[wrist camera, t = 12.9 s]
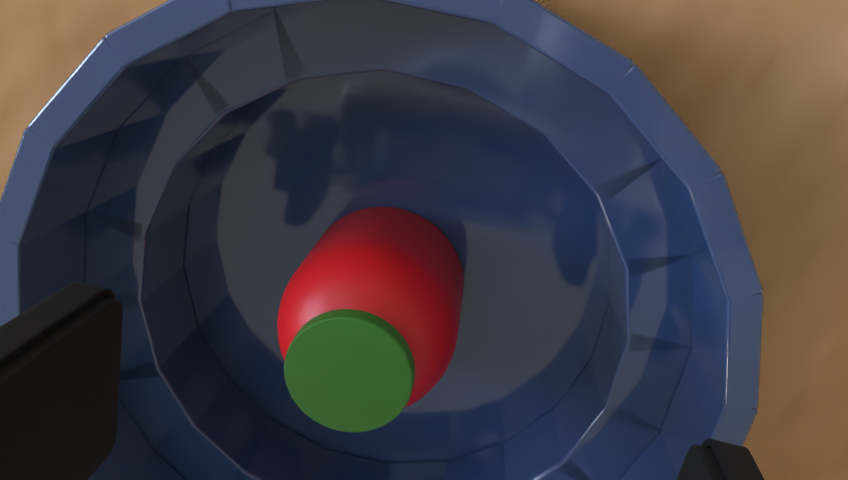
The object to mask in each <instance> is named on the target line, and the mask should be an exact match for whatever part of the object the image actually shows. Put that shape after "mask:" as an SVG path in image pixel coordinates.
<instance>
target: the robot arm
mask: <svg viewBox="0 0 848 480" xmlns="http://www.w3.org/2000/svg"><path fill="white" fill-rule="evenodd" d="M122 321H123V306H122V303H121V302H120V301H119V300H115V295H114V292H113V291H112V290H111V289H107V288H103V287H99V286H95V285H91V284H87V283H83V282H78V281H75V282H72V283H70V284H69V285H67V286H65V287H64V288H62V289H60V290H59V291H57V292H56V293H54V294H52V295H51V296H49V297H47V298H46V299H44V300H43V301H41V302H39V303H38V304H36V305H34V306H33V307H31V308H30V309H28V310H26V311H25V312H23V313H21V314H20V315H18V316H17V317H15V318H13V319H12V320H10V321H8V322H7V323H5V324H4V325H2V326H0V480H88V479H89V478H90V477H91V475H92V474H93V473H94V472H95V471H96V470H97V469H98V468H99V467H100V466H101V465H102V463H103V462H104V461H105V460H106V459H107V458H108V456H109V455H110V453H111V451H112V449H113V447H114V444H115V441H116V435H117V416H118V397H119V378H120V359H121V340H122ZM676 480H764V478H763V476H762V474H761V473H760V471H759V469H758V467H757V465H756V463H755V461H754V459H753V457H752V455H751V453H750V451H749V450H748V449H747V448H745V447H742V446H738V445H734V444H730V443H726V442H722V441H718V440H714V439H710V438H709V439H706V440H705V441H704V442H703V443H702V445H701V446H699V445H695V444H694V445H692V446H691V447H690V448H689V450H688V452H687V454H686V457H685V459H684V462H683V464H682V467H681V469H680V472H679V474H678V477H677V479H676Z"/></svg>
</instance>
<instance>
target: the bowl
mask: <svg viewBox="0 0 848 480" xmlns="http://www.w3.org/2000/svg"><path fill="white" fill-rule="evenodd" d="M371 207H393V208H399V209H403V210H406V211H410V212H412V213H415V214H417V215H419V216H421V217H423V218H425V219H426V220H428V221H430V222H431V223H432V224H433V225H435V226H436V227H437V228H438V229H439V230H440V231H441V232H442V233H443V234H444V235H445V236H446V237H447V238H448V240H449V241H450V242H451V244H452V245H453V247H454V249H455V251H456V253H457V255H458V257H459V260H460V263H461V267H462V271H463V279H464V283H463V297H462V305H461V314H460V322H459V330H458V337H457V343H456V347H455V351H454V354H453V357H452V360H451V362H450V364H449V366H448V368H447V370H446V371H445V373H444V374H443V376H442V377H441V379H440V380H439V382H438V383H437V384H436V385H435V386H434V387H433V388H432V389H431V390H430V391H429V392H428V393H427V394H426V395H425V396H423V397H422V398H421V399H420V400H418V401H416V402H415V403H413V404H412V405H410V406H408V407H405V408H404V409H403V411H402V412H401V413H400V414H399V415H398V416H397V417H396V418H395V419H393V420H392V421H391V422H389V423H387V424H386V425H384V426H382V427H380V428H377V429H374V430H371V431H365V432H343V431H338V430H334V429H331V428H328V427H326V426H323V425H321V424H319V423H317V422H316V421H314V420H313V419H311V418H310V417H308V416H307V415H306V414H305V413H304V412H303V411H302V410H301V409H300V408H299V407H298V406H297V404H296V403H295V402H294V400H293V399H292V397H291V395H290V393H289V391H288V388H287V385H286V381H285V377H284V359H283V356H282V353H281V350H280V346H279V341H278V329H277V321H278V312H279V307H280V303H281V299H282V296H283V293H284V291H285V288H286V286H287V285H288V283H289V281H290V279H291V277H292V276H293V274H294V273H295V271H296V270H297V269H298V267H299V266H300V265H301V263H302V262H303V261H304V259H305V258H306V257H307V255H308V254H309V253H310V251H311V250H312V249H313V247H314V246H315V245H316V243H317V242H318V241H319V239H320V238H321V237H322V235H323V234H324V233H325V231H326V230H327V229H328V228H329V227H330V226H331V225H332V224H334V223H335V222H336V221H338V220H339V219H340V218H342V217H344V216H346V215H348V214H350V213H352V212H355V211H358V210H361V209H365V208H371ZM75 281H78V282H83V283H87V284H91V285H95V286H99V287H103V288H107V289H111V290H112V291H113V292H114V295H115V300H119V301H120V302H121V303H122V306H123V321H122V340H121V359H120V378H119V397H118V416H117V435H116V441H115V444H114V447H113V449H112V451H111V453H110V455H109V456H108V458H107V459H106V460H105V461H104V462H103V463H102V465H101V466H100V467H99V468H98V469H97V470H96V471H95V472H94V473H93V474H92V475H91V477H90V478H89V479H88V480H676V479H677V477H678V474H679V472H680V469H681V467H682V464H683V462H684V459H685V457H686V454H687V452H688V450H689V448H690V447H691V446H692V445H694V444H695V445H699V446H701V445H702V443H703V442H704V441H705V440H706V439H709V438H710V439H714V440H718V441H722V442H726V443H730V444H734V445H738V446H743V444H744V442H745V439H746V437H747V435H748V432H749V430H750V428H751V425H752V423H753V421H754V419H755V416H756V414H757V407H758V398H759V376H760V355H761V333H762V311H763V294H762V289H763V288H762V285H761V282H760V279H759V276H758V273H757V271H756V268H755V265H754V262H753V259H752V256H751V253H750V250H749V247H748V244H747V241H746V238H745V235H744V232H743V229H742V226H741V223H740V220H739V217H738V214H737V211H736V208H735V205H734V202H733V199H732V196H731V193H730V190H729V187H728V184H727V181H726V178H725V175H724V173H723V172H722V171H721V169H720V166H719V165H718V164H717V162H716V161H715V160H714V159H713V158H712V156H711V155H710V154H709V153H708V151H707V150H706V149H705V148H704V146H703V145H702V144H701V143H700V141H699V140H698V139H697V138H696V137H695V135H694V134H693V133H692V132H691V130H690V129H689V128H688V127H687V125H686V124H685V123H684V122H683V120H682V119H681V118H680V117H679V116H678V114H677V113H676V112H675V111H674V109H673V108H672V107H671V106H670V104H669V103H668V102H667V101H666V99H665V98H664V97H663V96H662V95H661V93H660V92H659V91H658V90H657V88H656V87H655V86H654V85H653V83H652V82H651V81H650V80H649V78H648V77H647V76H646V75H645V74H644V72H643V71H642V70H641V69H640V67H639V66H638V65H636V64H634V63H633V61H632V60H631V59H630V58H628V57H626V56H625V55H623V54H621V53H620V52H618V51H617V50H615V49H613V48H612V47H610V46H608V45H607V44H605V43H603V42H602V41H600V40H598V39H597V38H595V37H594V36H592V35H590V34H589V33H587V32H585V31H584V30H582V29H580V28H579V27H577V26H576V25H574V24H572V23H571V22H569V21H567V20H566V19H564V18H562V17H561V16H559V15H557V14H556V13H554V12H553V11H551V10H549V9H548V8H546V7H544V6H543V5H541V4H539V3H538V2H536V1H534V0H168V1H166V2H164V3H163V4H161V5H159V6H157V7H155V8H153V9H151V10H149V11H148V12H146V13H144V14H142V15H140V16H138V17H136V18H135V19H133V20H131V21H129V22H127V23H125V24H123V25H121V26H120V27H118V28H116V29H114V30H112V31H110V32H108V33H107V34H106V35H105V37H103V38H102V39H101V40H100V41H99V42H98V43H97V44H96V46H95V47H94V48H93V49H92V50H91V51H90V53H89V54H88V55H87V56H86V57H85V59H84V60H83V61H82V62H81V63H80V64H79V66H78V67H77V68H76V69H75V70H74V71H73V73H72V74H71V75H70V76H69V77H68V79H67V80H66V81H65V82H64V83H63V84H62V86H61V87H60V88H59V89H58V90H57V91H56V93H55V94H54V95H53V96H52V97H51V99H50V100H49V101H48V102H47V103H46V104H45V106H44V107H43V108H42V109H41V110H40V111H39V113H38V114H37V115H36V116H35V117H34V119H33V120H32V121H31V122H30V123H29V125H28V128H26V129H25V130H24V133H23V136H22V139H21V142H20V145H19V148H18V151H17V153H16V156H15V159H14V162H13V165H12V168H11V171H10V174H9V177H8V180H7V183H6V186H5V188H4V191H3V194H2V197H1V200H0V326H2V325H4V324H5V323H7V322H8V321H10V320H12V319H13V318H15V317H17V316H18V315H20V314H21V313H23V312H25V311H26V310H28V309H30V308H31V307H33V306H34V305H36V304H38V303H39V302H41V301H43V300H44V299H46V298H47V297H49V296H51V295H52V294H54V293H56V292H57V291H59V290H60V289H62V288H64V287H65V286H67V285H69V284H70V283H72V282H75Z"/></svg>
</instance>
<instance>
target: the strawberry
mask: <svg viewBox="0 0 848 480" xmlns="http://www.w3.org/2000/svg"><path fill="white" fill-rule="evenodd" d="M463 283H464V279H463V271H462V267H461V263H460V260H459V257H458V255H457V253H456V251H455V249H454V247H453V245H452V244H451V242H450V241H449V240H448V238H447V237H446V236H445V235H444V234H443V233H442V232H441V231H440V230H439V229H438V228H437V227H436V226H435V225H433V224H432V223H431V222H430V221H428V220H426V219H425V218H423V217H421V216H419V215H417V214H415V213H412V212H410V211H406V210H403V209H399V208H393V207H371V208H365V209H361V210H358V211H355V212H352V213H350V214H348V215H346V216H344V217H342V218H340V219H339V220H338V221H336V222H335V223H334V224H332V225H331V226H330V227H329V228H328V229H327V230H326V231H325V233H324V234H323V235H322V237H321V238H320V239H319V241H318V242H317V243H316V245H315V246H314V247H313V249H312V250H311V251H310V253H309V254H308V255H307V257H306V258H305V259H304V261H303V262H302V263H301V265H300V266H299V267H298V269H297V270H296V271H295V273H294V274H293V276H292V277H291V279H290V281H289V283H288V285H287V286H286V288H285V291H284V293H283V296H282V299H281V303H280V307H279V312H278V321H277V329H278V341H279V346H280V350H281V353H282V356H283V359H284V377H285V381H286V385H287V388H288V391H289V393H290V395H291V397H292V399H293V400H294V402H295V403H296V404H297V406H298V407H299V408H300V409H301V410H302V411H303V412H304V413H305V414H306V415H307V416H308V417H310V418H311V419H313V420H314V421H316V422H317V423H319V424H321V425H323V426H326V427H328V428H331V429H334V430H338V431H343V432H365V431H371V430H374V429H377V428H380V427H382V426H384V425H386V424H387V423H389V422H391V421H392V420H393V419H395V418H396V417H397V416H398V415H399V414H400V413H401V412H402V411H403V409H404V408H405V407H408V406H410V405H412V404H413V403H415V402H416V401H418V400H420V399H421V398H422V397H423V396H425V395H426V394H427V393H428V392H429V391H430V390H431V389H432V388H433V387H434V386H435V385H436V384H437V383H438V382H439V380H440V379H441V377H442V376H443V374H444V373H445V371H446V370H447V368H448V366H449V364H450V362H451V360H452V357H453V354H454V351H455V347H456V343H457V337H458V330H459V322H460V314H461V305H462V297H463Z"/></svg>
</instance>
